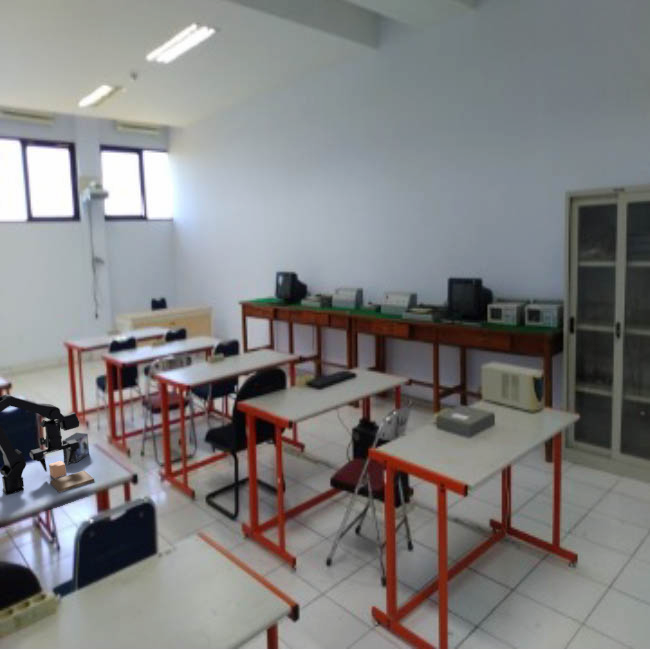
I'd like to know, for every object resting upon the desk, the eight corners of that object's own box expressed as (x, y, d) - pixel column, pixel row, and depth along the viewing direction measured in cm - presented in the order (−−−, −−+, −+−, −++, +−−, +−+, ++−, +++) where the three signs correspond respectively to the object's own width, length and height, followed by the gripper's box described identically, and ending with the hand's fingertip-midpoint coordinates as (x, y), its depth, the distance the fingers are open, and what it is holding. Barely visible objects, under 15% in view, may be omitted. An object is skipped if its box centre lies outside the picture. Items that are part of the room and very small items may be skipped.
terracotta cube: (53, 478, 238) (52, 467, 237) (50, 474, 242) (49, 464, 241) (66, 474, 242) (65, 464, 241) (62, 471, 245) (61, 460, 244)
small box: (76, 463, 253) (73, 441, 251) (63, 462, 254) (61, 440, 252) (90, 454, 263) (88, 433, 261) (77, 453, 264) (75, 432, 262)
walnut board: (59, 492, 226) (58, 489, 225) (50, 483, 234) (50, 480, 233) (94, 481, 235) (93, 478, 235) (84, 472, 243) (84, 470, 243)
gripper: (69, 423, 250) (73, 456, 253) (24, 434, 238) (28, 468, 241) (78, 430, 242) (81, 463, 245) (31, 441, 230) (35, 477, 233)
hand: (57, 468), depth 241 cm, fingers open, 9 cm apart
